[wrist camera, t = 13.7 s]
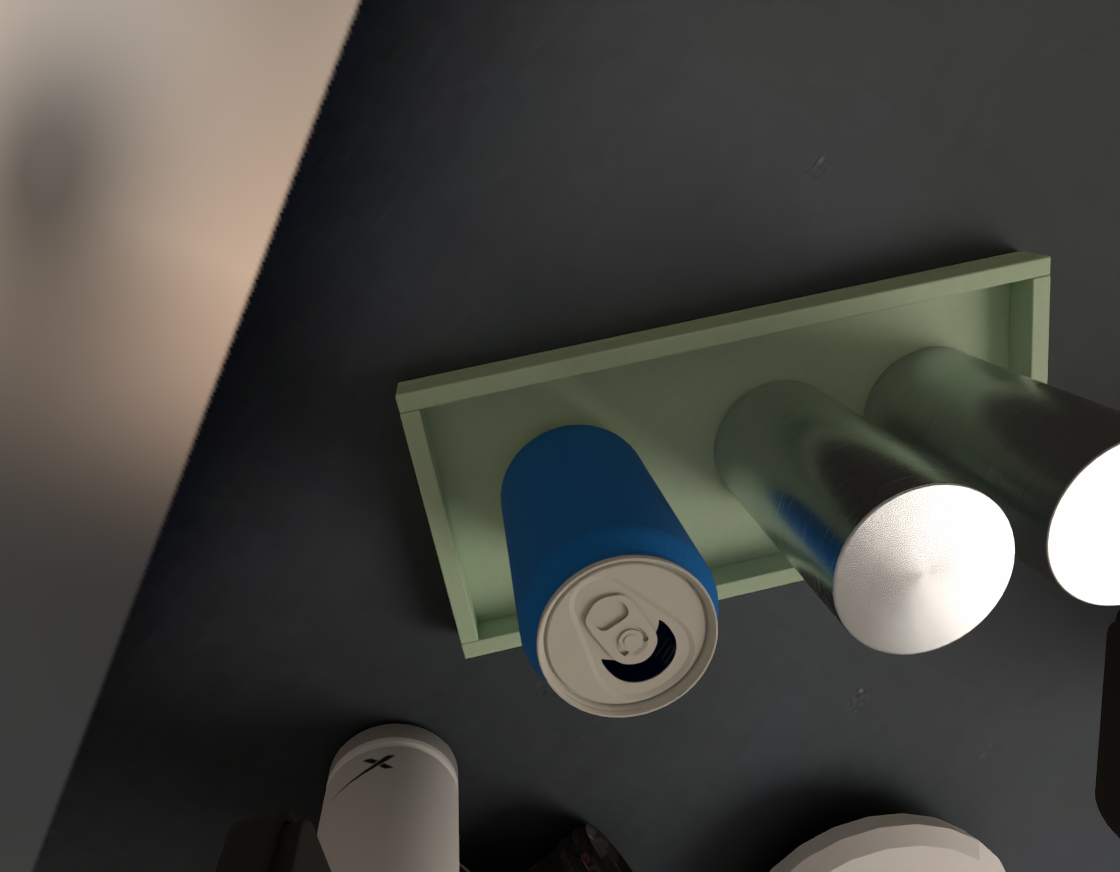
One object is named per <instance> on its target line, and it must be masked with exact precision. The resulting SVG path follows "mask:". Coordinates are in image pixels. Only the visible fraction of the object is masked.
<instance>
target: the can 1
mask: <svg viewBox="0 0 1120 872" xmlns="http://www.w3.org/2000/svg"><path fill="white" fill-rule="evenodd" d="M714 460H715V465H716V468H717V471H718V474H719V476H720V478H721V480H722V481H723V483H724V484H725V486H726V487H727V488H728V489H729V491H730V492H731V493H732V494H733V495H734V496H735V498H736V499H737V500H738V501H739V502H740V504H741V505H742V506H743V507H744V508H745V510H746V511H747V512H748V513H749V514H750V516H751V517H752V518H753V519H754V520H755V521H756V523H757V524H758V525H759V526H760V527H761V529H762V530H763V531H764V532H765V533H766V535H767V536H768V537H769V538H770V539H771V541H772V542H773V543H774V544H775V545H776V547H777V548H778V549H779V550H780V551H781V552H782V554H783V555H784V556H785V557H786V558H787V560H788V561H789V562H790V563H791V564H792V566H793V567H794V568H795V569H796V570H797V572H798V573H799V574H800V575H801V576H802V578H803V579H804V580H805V581H806V582H807V583H808V585H809V586H810V587H811V588H812V589H813V591H814V592H815V593H816V594H817V595H818V597H819V598H820V599H821V600H822V601H823V603H824V604H825V605H826V606H827V607H828V609H829V610H830V611H831V612H832V613H833V614H834V616H835V617H836V618H837V619H838V620H839V622H840V623H841V624H842V625H843V626H844V628H845V629H846V630H847V631H848V632H849V633H850V634H851V635H852V636H853V637H854V638H855V639H857V640H858V641H859V642H861V643H862V644H864V645H866V646H868V647H870V648H872V649H875V650H878V651H881V652H885V653H890V654H900V655H908V654H919V653H924V652H929V651H932V650H935V649H939V648H941V647H943V646H946V645H948V644H950V643H952V642H954V641H956V640H958V639H960V638H961V637H963V636H964V635H966V634H967V633H969V632H970V631H971V630H973V629H974V628H975V627H976V626H977V625H979V624H980V623H981V622H982V621H983V620H984V619H985V618H986V617H987V616H988V615H989V614H990V612H991V611H992V610H993V609H994V607H995V606H996V605H997V603H998V602H999V600H1000V598H1001V597H1002V595H1003V593H1004V591H1005V589H1006V587H1007V585H1008V583H1009V580H1010V577H1011V574H1012V571H1013V566H1014V561H1015V539H1014V535H1013V530H1012V527H1011V525H1010V522H1009V520H1008V518H1007V516H1006V514H1005V513H1004V511H1003V510H1002V508H1001V507H1000V506H999V505H998V504H997V502H995V501H994V500H993V499H992V498H991V497H990V496H988V495H987V494H985V493H984V492H982V491H980V490H979V489H977V488H976V487H974V486H972V485H971V484H969V483H968V482H966V481H964V480H963V479H961V478H960V477H958V476H956V475H955V474H953V473H952V472H950V471H948V470H947V469H945V468H944V467H942V466H941V465H939V464H937V463H936V462H934V461H933V460H931V459H929V458H928V457H926V456H925V455H923V454H921V453H920V452H918V451H917V450H915V449H913V448H912V447H910V446H909V445H907V444H905V443H904V442H902V441H901V440H899V439H897V438H896V437H894V436H893V435H891V434H889V433H888V432H886V431H885V430H883V429H881V428H880V427H878V426H877V425H875V424H874V423H872V422H870V421H869V420H867V419H866V418H864V417H862V416H861V415H859V414H858V413H856V412H854V411H853V410H851V409H850V408H848V407H846V406H845V405H843V404H842V403H840V402H838V401H837V400H835V399H834V398H832V397H830V396H829V395H827V394H826V393H824V392H822V391H821V390H819V389H818V388H816V387H814V386H812V385H810V384H807V383H804V382H800V381H794V380H780V381H773V382H769V383H766V384H763V385H761V386H758V387H756V388H754V389H752V390H750V391H749V392H747V393H746V394H744V395H743V396H742V397H740V398H739V399H738V400H737V401H736V402H735V403H734V404H733V405H732V406H731V408H730V409H729V410H728V411H727V413H726V414H725V416H724V417H723V419H722V421H721V423H720V425H719V428H718V431H717V434H716V438H715V444H714Z"/></svg>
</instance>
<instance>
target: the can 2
mask: <svg viewBox="0 0 1120 872" xmlns="http://www.w3.org/2000/svg"><path fill="white" fill-rule="evenodd" d="M864 418H866V419H867V420H869V421H870V422H872V423H874V424H875V425H877V426H878V427H880V428H881V429H883V430H885V431H886V432H888V433H889V434H891V435H893V436H894V437H896V438H897V439H899V440H901V441H902V442H904V443H905V444H907V445H909V446H910V447H912V448H913V449H915V450H917V451H918V452H920V453H921V454H923V455H925V456H926V457H928V458H929V459H931V460H933V461H934V462H936V463H937V464H939V465H941V466H942V467H944V468H945V469H947V470H948V471H950V472H952V473H953V474H955V475H956V476H958V477H960V478H961V479H963V480H964V481H966V482H968V483H969V484H971V485H972V486H974V487H976V488H977V489H979V490H980V491H982V492H984V493H985V494H987V495H988V496H990V497H991V498H992V499H993V500H994V501H995V502H997V504H998V505H999V506H1000V507H1001V508H1002V510H1003V511H1004V513H1005V514H1006V516H1007V518H1008V520H1009V522H1010V525H1011V527H1012V530H1013V535H1014V539H1015V557H1016V558H1018V559H1019V560H1021V561H1022V562H1023V563H1025V564H1026V565H1028V566H1029V567H1031V568H1032V569H1033V570H1035V571H1036V572H1038V573H1039V574H1040V575H1042V576H1043V577H1045V578H1046V579H1048V580H1049V581H1050V582H1052V583H1053V584H1055V585H1056V586H1057V587H1059V588H1060V589H1062V590H1063V591H1065V592H1066V593H1067V594H1069V595H1070V596H1072V597H1074V598H1076V599H1077V600H1080V601H1083V602H1085V603H1089V604H1094V605H1101V606H1116V605H1120V412H1119V411H1117V410H1114V409H1112V408H1109V407H1106V406H1104V405H1101V404H1098V403H1096V402H1093V401H1090V400H1088V399H1085V398H1082V397H1080V396H1077V395H1075V394H1072V393H1069V392H1067V391H1064V390H1061V389H1059V388H1056V387H1053V386H1051V385H1048V384H1045V383H1043V382H1040V381H1038V380H1035V379H1032V378H1030V377H1027V376H1024V375H1022V374H1019V373H1016V372H1014V371H1011V370H1008V369H1006V368H1003V367H1001V366H998V365H995V364H993V363H990V362H987V361H985V360H982V359H979V358H977V357H974V356H971V355H969V354H966V353H963V352H961V351H958V350H955V349H952V348H946V347H930V348H924V349H920V350H917V351H914V352H912V353H910V354H907V355H906V356H904V357H902V358H900V359H899V360H897V361H896V362H895V363H893V364H892V365H891V366H890V367H889V368H888V369H887V370H885V372H884V373H883V374H882V375H881V376H880V377H879V379H878V380H877V382H876V383H875V385H874V386H873V388H872V390H871V392H870V394H869V397H868V399H867V402H866V406H865V410H864Z"/></svg>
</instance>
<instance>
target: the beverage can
mask: <svg viewBox="0 0 1120 872" xmlns="http://www.w3.org/2000/svg"><path fill="white" fill-rule="evenodd" d="M501 508H502V515H503V522H504V529H505V536H506V543H507V550H508V557H509V564H510V571H511V578H512V585H513V592H514V599H515V605H516V612H517V619H518V626H519V633H520V638H521V643H522V646H523V648H524V651H525V654H526V656H527V658H528V659H529V661H530V663H531V665H532V666H533V667H534V669H535V670H536V671H537V673H538V674H539V675H540V676H541V677H542V678H543V679H544V680H545V681H546V682H547V683H548V684H549V685H550V686H551V687H552V689H553V690H554V691H555V692H556V693H557V694H558V695H559V696H560V697H561V698H562V699H564V700H565V701H566V702H568V703H569V704H570V705H572V706H574V707H576V708H578V709H580V710H582V711H585V712H588V713H591V714H595V715H599V716H606V717H631V716H637V715H642V714H646V713H649V712H652V711H655V710H658V709H660V708H662V707H664V706H667V705H668V704H670V703H672V702H674V701H675V700H677V699H678V698H680V697H681V696H682V695H684V694H685V693H686V692H687V691H688V690H689V689H691V688H692V687H693V686H694V685H695V684H696V682H697V681H698V680H699V679H700V678H701V676H702V675H703V673H704V672H705V670H706V669H707V667H708V665H709V663H710V661H711V659H712V657H713V654H714V651H715V648H716V643H717V637H718V623H717V620H718V610H719V602H718V592H717V588H716V584H715V580H714V578H713V575H712V573H711V571H710V569H709V567H708V566H707V564H706V562H705V561H704V559H703V558H702V556H701V554H700V553H699V551H698V550H697V548H696V546H695V545H694V543H693V542H692V540H691V538H690V537H689V535H688V534H687V532H686V530H685V529H684V527H683V526H682V524H681V523H680V521H679V519H678V518H677V516H676V515H675V513H674V511H673V510H672V508H671V507H670V505H669V503H668V502H667V500H666V499H665V497H664V495H663V494H662V492H661V491H660V489H659V488H658V486H657V484H656V483H655V481H654V480H653V478H652V476H651V475H650V473H649V472H648V470H647V468H646V467H645V465H644V464H643V462H642V460H641V459H640V457H639V456H638V454H637V453H636V451H635V450H634V449H633V448H632V447H631V445H629V444H628V443H627V442H626V441H625V440H624V439H622V438H621V437H619V436H618V435H616V434H615V433H612V432H610V431H608V430H606V429H603V428H600V427H596V426H591V425H567V426H562V427H557V428H554V429H551V430H549V431H546V432H544V433H542V434H540V435H538V436H537V437H535V438H534V439H532V440H531V441H530V442H528V443H527V444H526V445H525V446H524V447H523V448H522V449H521V450H520V451H519V452H518V453H517V454H516V456H515V457H514V458H513V460H512V461H511V463H510V465H509V467H508V468H507V471H506V473H505V476H504V479H503V483H502V487H501Z"/></svg>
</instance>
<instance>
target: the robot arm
mask: <svg viewBox="0 0 1120 872" xmlns="http://www.w3.org/2000/svg"><path fill="white" fill-rule="evenodd" d="M1095 797H1096V802H1097V806H1098V809H1099V811H1100V813H1101V815H1102V817H1103V818H1104V820H1105V822H1106V823H1107V825H1108V826H1109V827H1110V828H1111V829H1112V831H1113V832H1114V833H1115V834H1116V835H1117V836H1118V837H1119V838H1120V610H1119V611H1118V613H1117V617H1116V621H1115V622H1113V623H1112V624H1111V625H1110V626H1109V627H1108V632H1107V641H1106V655H1105V668H1104V681H1103V695H1102V708H1101V722H1100V735H1099V748H1098V762H1097V775H1096V789H1095ZM216 872H331V869H330V867H329V864H328V862H327V859H326V857H325V854H324V852H323V849H322V847H321V844H320V842H319V839H318V837H317V834H316V832H315V829H314V827H313V825H312V823H311V822H310V821H309V820H308V819H307V820H302V821H298V822H297V821H296V819H295V817H294V816H293V814H292V813H291V812H290V811H289V810H283V811H279V812H275V813H271V814H267V815H263V816H259V817H255V818H251V819H246V820H242V821H238V822H235V823H234V824H233V825H232V826H231V828H230V830H229V832H228V835H227V838H226V841H225V844H224V847H223V850H222V853H221V856H220V860H219V863H218V866H217V869H216Z"/></svg>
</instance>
